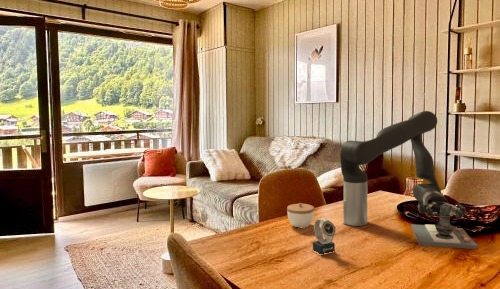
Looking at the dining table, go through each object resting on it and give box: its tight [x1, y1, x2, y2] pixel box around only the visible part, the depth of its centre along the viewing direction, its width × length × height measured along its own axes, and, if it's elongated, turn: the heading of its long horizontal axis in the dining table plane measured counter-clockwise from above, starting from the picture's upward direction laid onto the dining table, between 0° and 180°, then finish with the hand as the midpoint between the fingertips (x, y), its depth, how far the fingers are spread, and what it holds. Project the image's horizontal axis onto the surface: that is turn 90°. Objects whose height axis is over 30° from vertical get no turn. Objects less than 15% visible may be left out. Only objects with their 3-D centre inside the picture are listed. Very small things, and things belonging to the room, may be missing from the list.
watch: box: [312, 217, 336, 254], centre depth 115 cm, size 6×8×11 cm
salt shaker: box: [434, 203, 455, 239], centre depth 120 cm, size 6×6×12 cm
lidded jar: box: [286, 202, 315, 229], centre depth 141 cm, size 11×11×9 cm
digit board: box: [410, 223, 478, 250], centre depth 125 cm, size 17×18×2 cm
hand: (445, 214), depth 119 cm, fingers open, 8 cm apart
